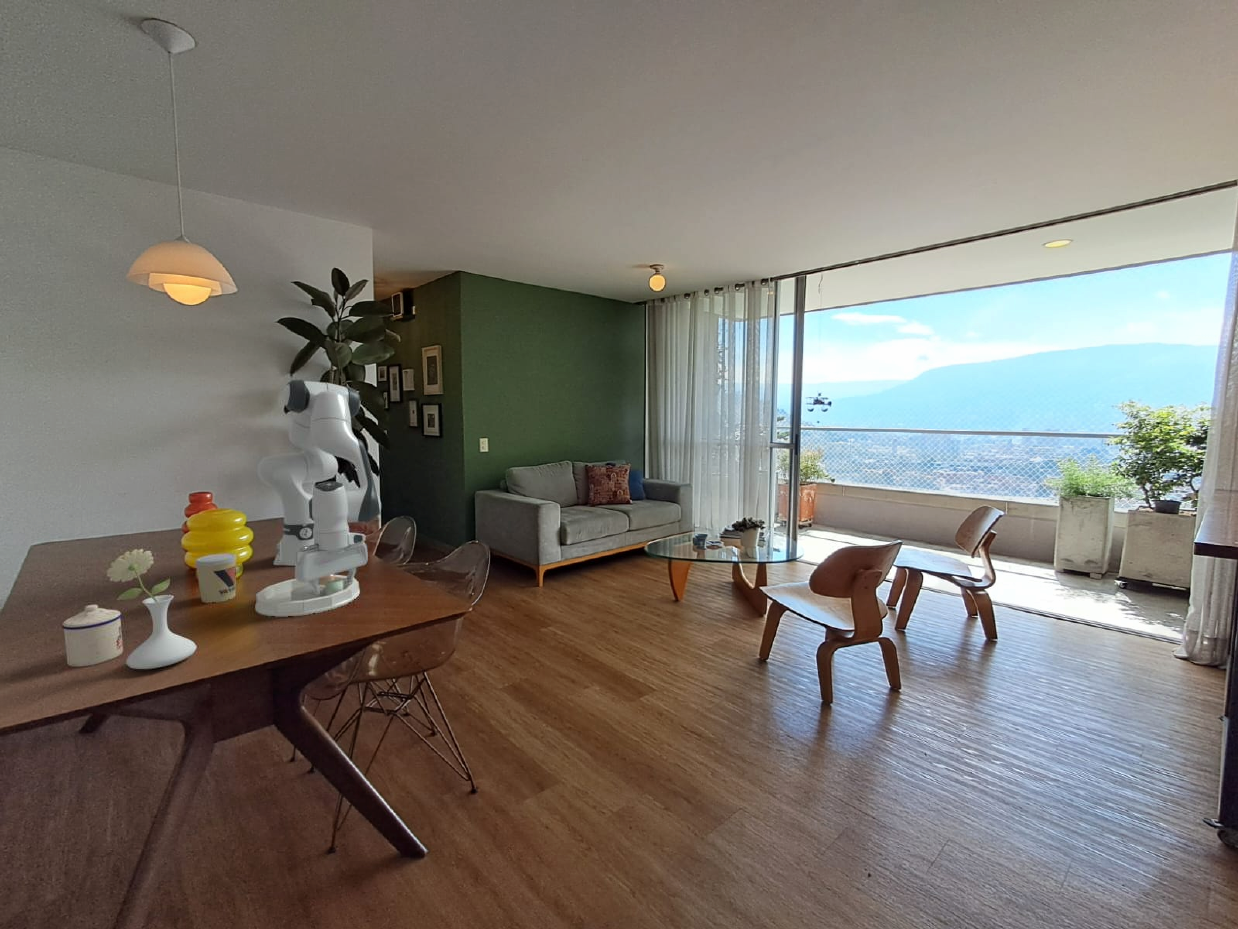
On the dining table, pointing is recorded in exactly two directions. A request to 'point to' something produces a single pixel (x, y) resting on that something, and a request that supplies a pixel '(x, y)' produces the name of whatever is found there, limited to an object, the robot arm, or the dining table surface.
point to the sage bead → (333, 587)
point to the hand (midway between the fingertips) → (334, 588)
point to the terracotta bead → (326, 579)
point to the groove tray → (302, 607)
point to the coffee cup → (217, 577)
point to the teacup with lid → (93, 636)
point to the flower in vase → (162, 642)
